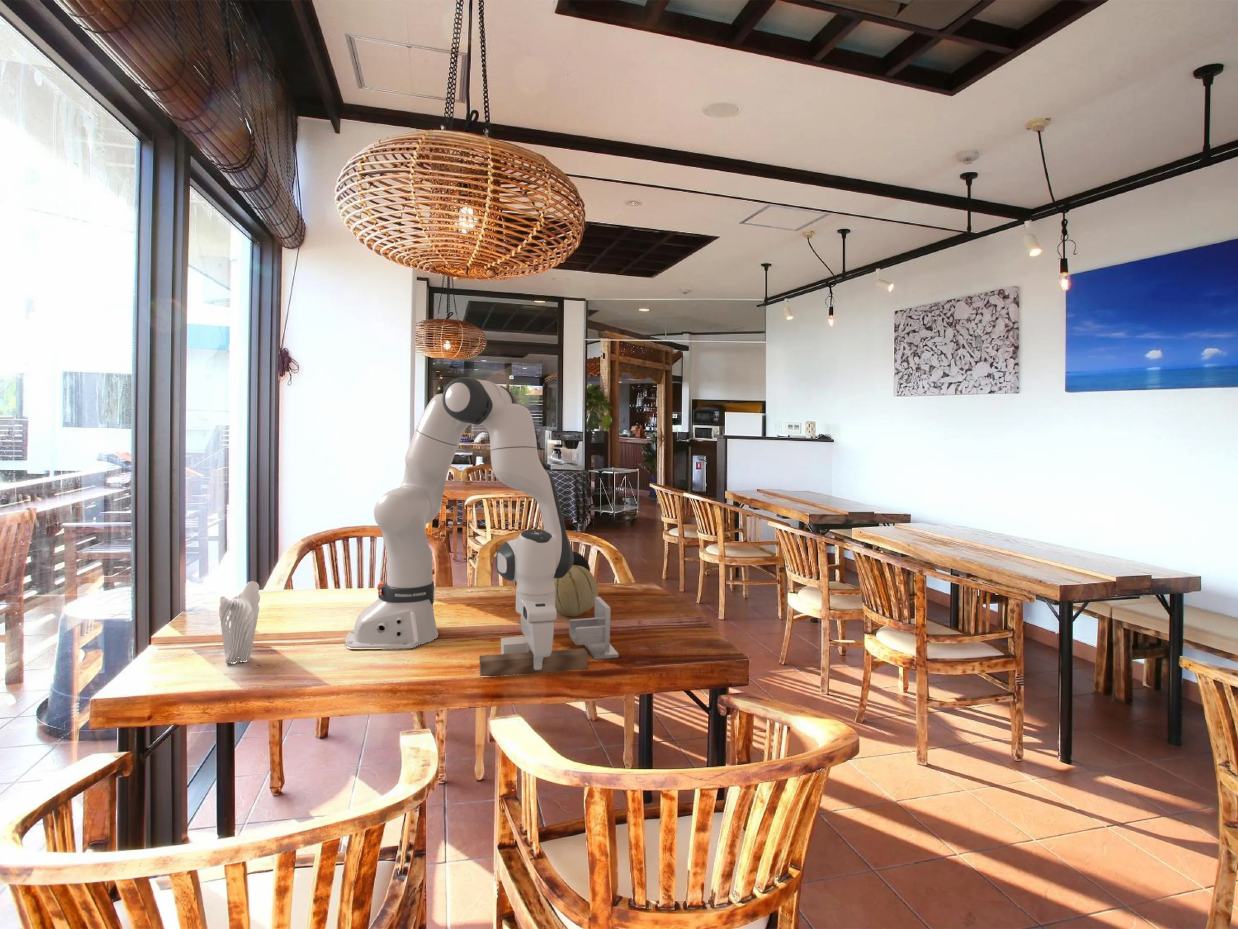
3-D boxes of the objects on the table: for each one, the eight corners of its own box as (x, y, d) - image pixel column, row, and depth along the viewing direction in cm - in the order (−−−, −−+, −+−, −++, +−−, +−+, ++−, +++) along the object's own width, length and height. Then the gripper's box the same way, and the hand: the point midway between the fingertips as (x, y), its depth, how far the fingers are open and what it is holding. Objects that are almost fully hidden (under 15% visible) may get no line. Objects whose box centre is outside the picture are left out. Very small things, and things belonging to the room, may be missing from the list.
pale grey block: (503, 661, 158) (503, 644, 158) (500, 654, 163) (501, 638, 162) (529, 659, 160) (529, 643, 159) (525, 652, 164) (526, 636, 164)
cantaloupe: (596, 623, 188) (597, 570, 187) (543, 622, 189) (544, 569, 188) (599, 608, 203) (600, 559, 202) (550, 607, 203) (551, 558, 202)
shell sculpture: (215, 670, 148) (213, 590, 147) (220, 658, 156) (219, 581, 155) (258, 666, 152) (256, 587, 150) (261, 654, 159) (260, 578, 158)
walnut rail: (480, 679, 148) (480, 661, 148) (479, 673, 151) (479, 655, 151) (587, 670, 154) (587, 653, 154) (584, 665, 158) (584, 648, 158)
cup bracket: (578, 660, 159) (579, 610, 159) (566, 644, 171) (567, 597, 170) (618, 657, 162) (619, 608, 162) (604, 641, 174) (606, 595, 173)
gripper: (514, 591, 161) (514, 648, 162) (529, 616, 141) (528, 681, 142) (540, 590, 163) (540, 646, 164) (558, 615, 143) (557, 678, 144)
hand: (534, 663), depth 153 cm, fingers open, 5 cm apart
